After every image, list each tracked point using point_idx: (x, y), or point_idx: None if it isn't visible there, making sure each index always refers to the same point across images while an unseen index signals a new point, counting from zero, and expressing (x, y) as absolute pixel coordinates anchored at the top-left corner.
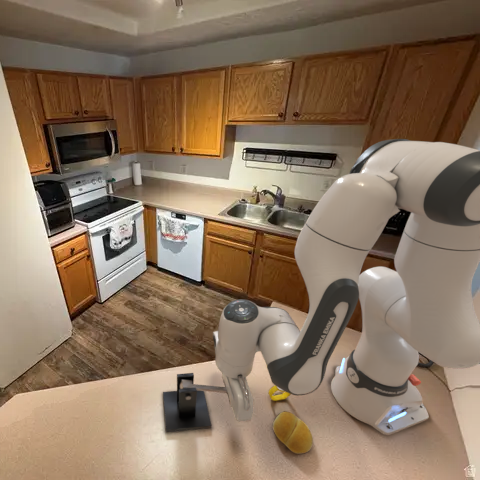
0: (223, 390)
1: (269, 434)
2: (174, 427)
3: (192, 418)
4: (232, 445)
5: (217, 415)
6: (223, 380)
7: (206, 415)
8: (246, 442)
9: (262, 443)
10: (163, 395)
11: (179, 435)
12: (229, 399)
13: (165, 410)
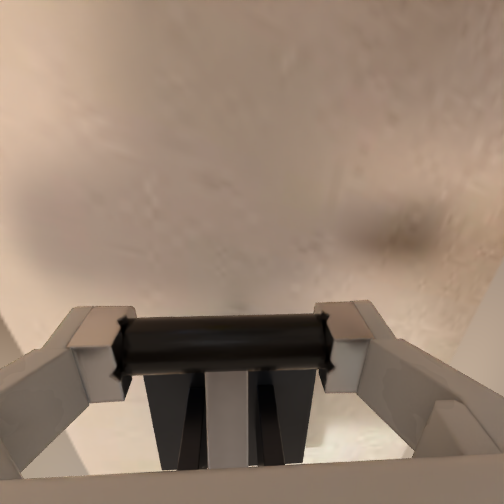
0: (247, 419)
1: (428, 7)
2: (300, 444)
3: (278, 393)
4: (405, 250)
5: (268, 283)
6: (129, 380)
7: None
8: (416, 180)
9: (452, 87)
10: (176, 469)
11: (316, 415)
12: (333, 382)
13: None
